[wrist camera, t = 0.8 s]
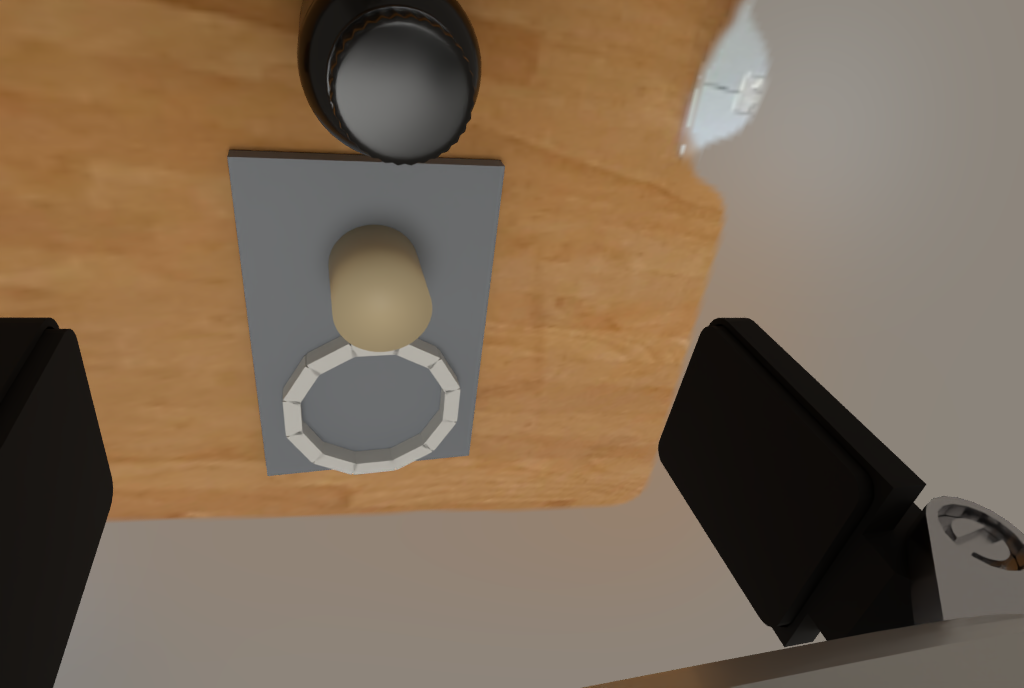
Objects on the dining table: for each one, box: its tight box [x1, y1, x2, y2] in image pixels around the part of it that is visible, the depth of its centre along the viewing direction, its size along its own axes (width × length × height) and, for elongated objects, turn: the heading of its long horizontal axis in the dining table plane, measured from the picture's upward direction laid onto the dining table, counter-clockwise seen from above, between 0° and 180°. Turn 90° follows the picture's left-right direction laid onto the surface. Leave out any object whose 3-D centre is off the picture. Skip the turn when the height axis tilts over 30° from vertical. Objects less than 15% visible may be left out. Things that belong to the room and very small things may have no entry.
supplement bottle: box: [297, 0, 481, 166], centre depth 25 cm, size 7×7×12 cm
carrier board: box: [227, 150, 505, 476], centre depth 37 cm, size 22×14×6 cm, turn 173°
